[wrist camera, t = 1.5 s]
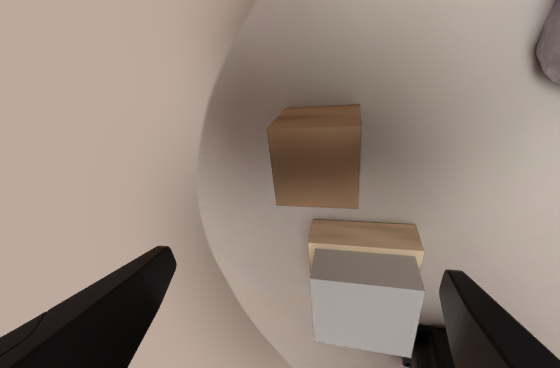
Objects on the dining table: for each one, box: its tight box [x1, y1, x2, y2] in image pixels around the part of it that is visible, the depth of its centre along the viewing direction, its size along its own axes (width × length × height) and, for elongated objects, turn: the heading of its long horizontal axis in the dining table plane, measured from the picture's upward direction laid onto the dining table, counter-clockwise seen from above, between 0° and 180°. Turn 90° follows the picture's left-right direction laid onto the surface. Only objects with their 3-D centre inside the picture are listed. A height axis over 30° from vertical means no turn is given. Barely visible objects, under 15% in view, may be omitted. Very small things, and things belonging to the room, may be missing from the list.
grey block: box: [310, 248, 425, 358], centre depth 20 cm, size 7×7×3 cm
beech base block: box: [308, 220, 424, 274], centre depth 23 cm, size 8×8×3 cm
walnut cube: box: [267, 104, 361, 209], centre depth 17 cm, size 5×5×5 cm
